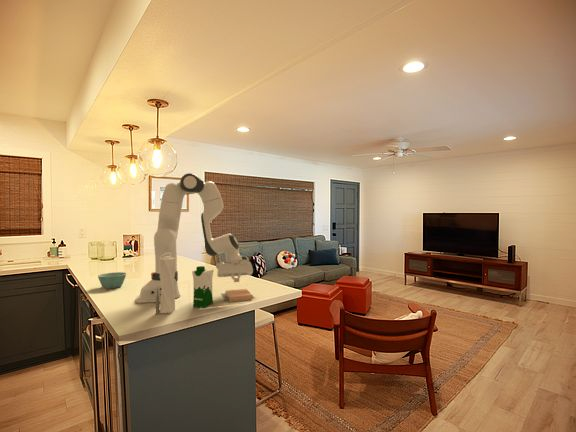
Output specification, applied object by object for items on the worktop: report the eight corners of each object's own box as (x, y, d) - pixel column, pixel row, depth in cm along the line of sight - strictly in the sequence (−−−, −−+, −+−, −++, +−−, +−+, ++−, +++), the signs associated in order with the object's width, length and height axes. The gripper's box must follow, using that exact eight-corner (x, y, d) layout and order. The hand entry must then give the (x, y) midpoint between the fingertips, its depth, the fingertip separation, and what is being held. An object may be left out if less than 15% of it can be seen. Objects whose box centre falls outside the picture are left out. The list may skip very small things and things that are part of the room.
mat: (225, 302, 156) (225, 301, 156) (220, 294, 171) (220, 293, 171) (254, 299, 162) (254, 298, 162) (248, 292, 177) (248, 291, 177)
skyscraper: (161, 309, 147) (160, 252, 146) (178, 309, 147) (177, 252, 147) (154, 315, 138) (154, 254, 138) (172, 314, 139) (172, 254, 139)
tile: (225, 295, 169) (229, 301, 156) (225, 290, 169) (229, 297, 156) (246, 292, 173) (251, 299, 160) (246, 288, 173) (251, 294, 160)
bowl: (105, 284, 197) (105, 272, 197) (130, 284, 199) (130, 271, 198) (92, 290, 181) (92, 277, 181) (120, 290, 183) (119, 276, 183)
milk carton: (190, 307, 149) (190, 267, 148) (201, 302, 157) (201, 264, 157) (205, 309, 146) (205, 268, 146) (215, 303, 154) (215, 265, 154)
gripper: (216, 259, 171) (218, 279, 162) (251, 257, 178) (255, 276, 169) (215, 265, 175) (217, 286, 166) (249, 263, 182) (253, 283, 173)
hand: (236, 281), depth 168 cm, fingers closed
